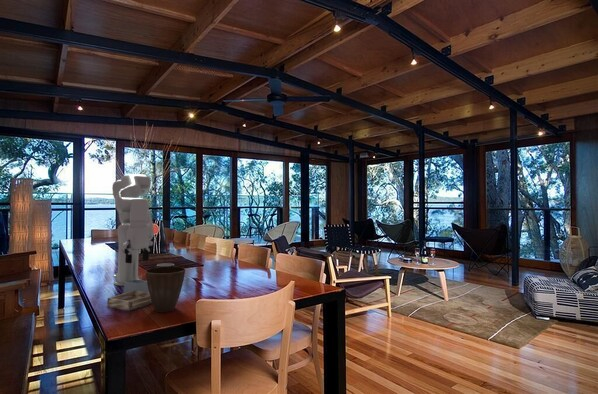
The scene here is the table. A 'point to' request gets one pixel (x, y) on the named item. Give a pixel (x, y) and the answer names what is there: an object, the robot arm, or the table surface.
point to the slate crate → (135, 286)
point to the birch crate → (129, 301)
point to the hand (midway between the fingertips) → (137, 261)
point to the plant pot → (165, 286)
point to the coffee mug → (164, 265)
